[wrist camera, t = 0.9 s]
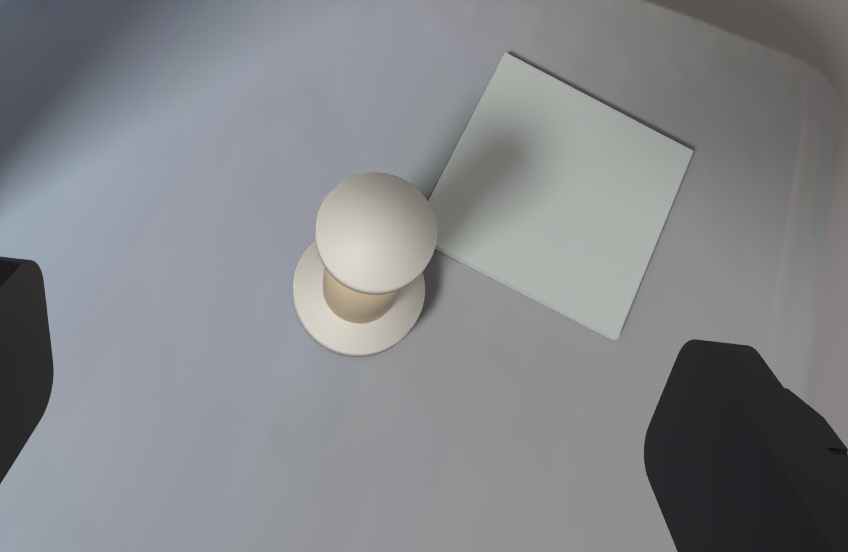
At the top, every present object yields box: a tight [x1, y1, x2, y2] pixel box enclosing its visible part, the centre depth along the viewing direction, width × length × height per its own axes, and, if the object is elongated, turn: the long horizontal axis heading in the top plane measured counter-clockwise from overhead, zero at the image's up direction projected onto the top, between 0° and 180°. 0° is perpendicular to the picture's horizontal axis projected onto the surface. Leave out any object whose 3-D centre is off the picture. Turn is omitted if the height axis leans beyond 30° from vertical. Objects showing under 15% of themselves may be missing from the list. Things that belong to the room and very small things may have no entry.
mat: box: [428, 52, 694, 340], centre depth 39 cm, size 12×12×1 cm
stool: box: [293, 173, 437, 357], centre depth 32 cm, size 6×6×11 cm
